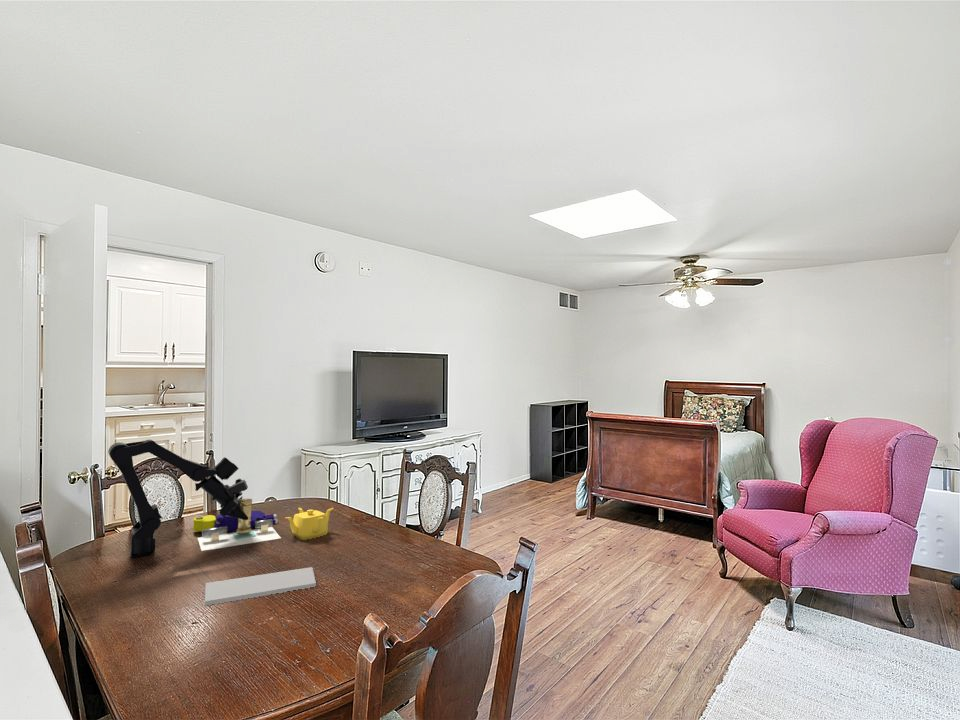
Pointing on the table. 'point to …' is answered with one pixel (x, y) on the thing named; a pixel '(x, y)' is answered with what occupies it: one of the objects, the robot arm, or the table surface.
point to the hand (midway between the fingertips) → (248, 517)
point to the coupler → (246, 507)
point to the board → (237, 539)
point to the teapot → (309, 524)
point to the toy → (228, 521)
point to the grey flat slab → (258, 585)
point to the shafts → (216, 532)
